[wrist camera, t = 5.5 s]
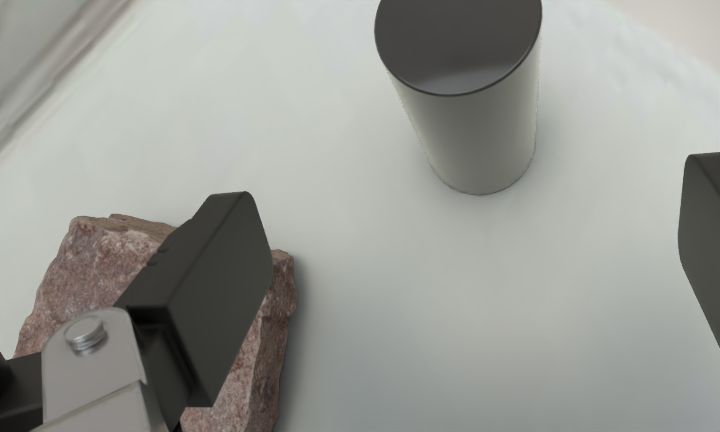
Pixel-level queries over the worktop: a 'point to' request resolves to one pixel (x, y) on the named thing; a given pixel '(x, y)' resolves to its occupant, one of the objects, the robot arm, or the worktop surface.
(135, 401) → the robot arm
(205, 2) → the worktop surface
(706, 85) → the worktop surface
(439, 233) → the worktop surface
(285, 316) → the stone
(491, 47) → the dark grey cylinder
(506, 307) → the worktop surface
